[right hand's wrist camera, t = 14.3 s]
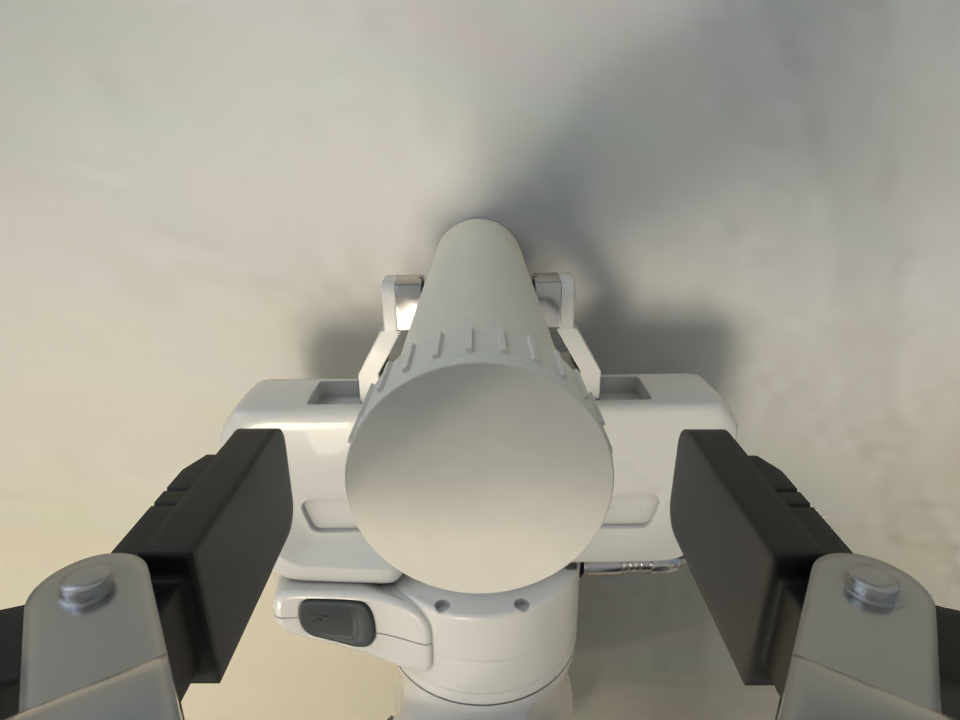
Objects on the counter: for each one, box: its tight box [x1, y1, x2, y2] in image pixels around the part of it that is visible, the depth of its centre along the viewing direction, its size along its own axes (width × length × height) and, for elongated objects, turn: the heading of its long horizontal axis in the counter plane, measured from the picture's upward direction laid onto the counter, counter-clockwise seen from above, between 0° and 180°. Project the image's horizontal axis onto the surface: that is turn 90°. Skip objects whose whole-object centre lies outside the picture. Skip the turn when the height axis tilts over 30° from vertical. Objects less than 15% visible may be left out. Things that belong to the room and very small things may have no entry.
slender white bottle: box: [400, 219, 555, 356], centre depth 20 cm, size 4×4×19 cm
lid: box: [345, 325, 614, 593], centre depth 12 cm, size 5×5×2 cm
